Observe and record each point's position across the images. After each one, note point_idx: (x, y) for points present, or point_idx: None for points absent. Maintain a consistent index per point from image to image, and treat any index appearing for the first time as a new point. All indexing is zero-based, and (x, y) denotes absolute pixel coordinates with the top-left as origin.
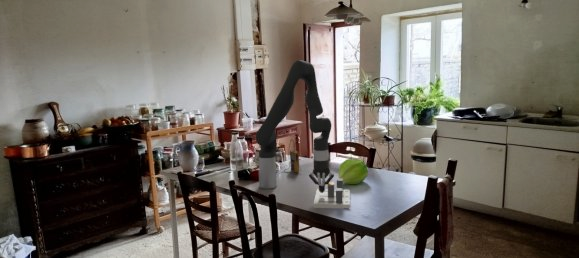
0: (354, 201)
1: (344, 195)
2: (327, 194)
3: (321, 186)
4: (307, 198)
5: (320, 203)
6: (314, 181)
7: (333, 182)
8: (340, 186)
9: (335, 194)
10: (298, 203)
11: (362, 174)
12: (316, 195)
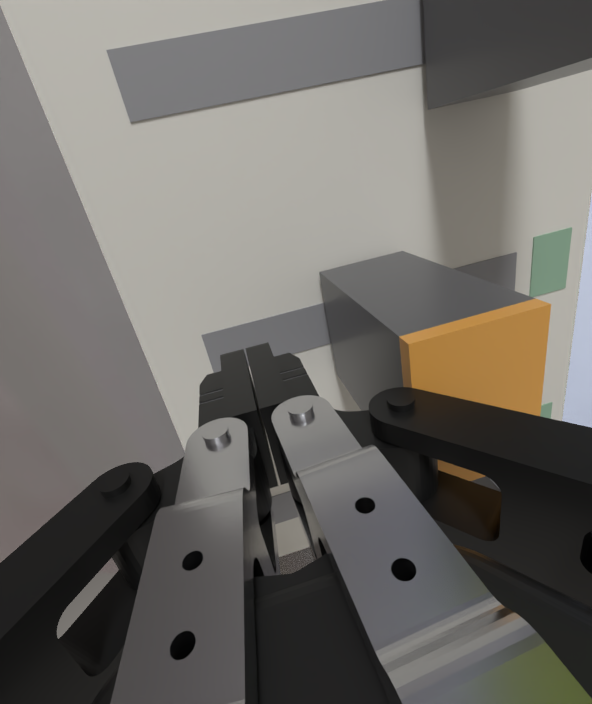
0: (585, 258)
1: (527, 226)
2: (300, 250)
3: (274, 475)
4: (20, 325)
5: (298, 540)
6: (114, 638)
7: (535, 326)
8: (564, 73)
9: (411, 217)
10: (18, 504)
11: None
12: (155, 339)
